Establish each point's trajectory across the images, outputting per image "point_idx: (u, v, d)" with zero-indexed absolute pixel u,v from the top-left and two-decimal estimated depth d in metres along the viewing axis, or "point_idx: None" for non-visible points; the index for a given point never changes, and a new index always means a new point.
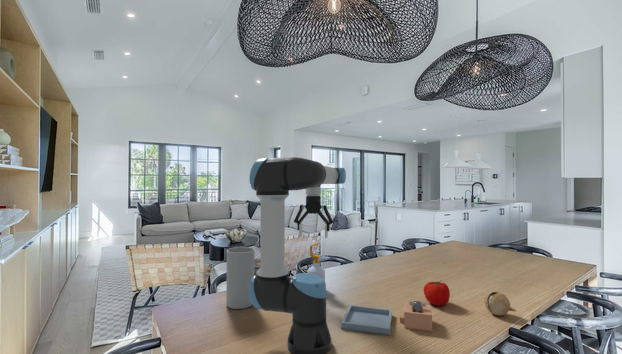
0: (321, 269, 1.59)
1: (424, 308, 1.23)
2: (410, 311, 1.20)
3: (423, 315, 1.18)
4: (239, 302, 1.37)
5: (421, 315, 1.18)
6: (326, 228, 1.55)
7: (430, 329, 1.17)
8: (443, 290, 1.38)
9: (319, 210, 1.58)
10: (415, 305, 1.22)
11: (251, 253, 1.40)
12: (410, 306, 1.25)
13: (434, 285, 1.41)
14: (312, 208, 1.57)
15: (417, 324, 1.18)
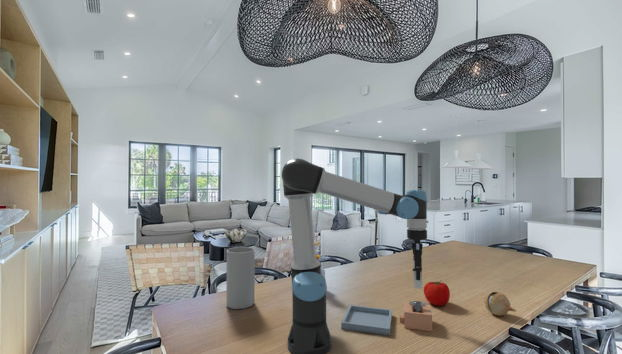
0: (321, 269, 1.59)
1: (424, 308, 1.23)
2: (410, 311, 1.20)
3: (423, 315, 1.18)
4: (239, 302, 1.37)
5: (421, 315, 1.18)
6: (415, 275, 1.17)
7: (430, 329, 1.17)
8: (443, 290, 1.38)
9: None
10: (415, 305, 1.22)
11: (251, 253, 1.40)
12: (410, 306, 1.25)
13: (434, 285, 1.41)
14: None
15: (417, 324, 1.18)
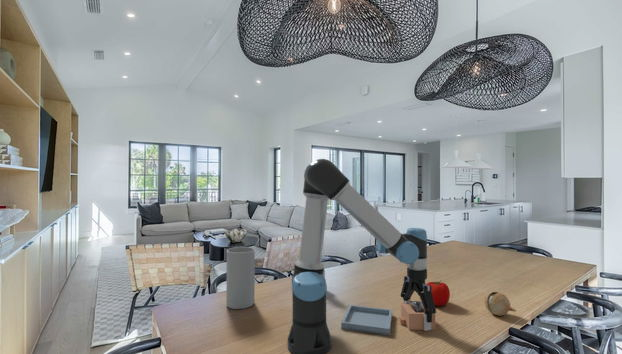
0: None
1: (423, 307, 1.24)
2: (413, 312, 1.19)
3: None
4: (239, 302, 1.37)
5: None
6: (425, 317, 1.17)
7: (433, 328, 1.18)
8: (443, 291, 1.38)
9: (423, 289, 1.21)
10: (415, 305, 1.22)
11: (251, 253, 1.40)
12: (409, 307, 1.24)
13: (434, 285, 1.41)
14: None
15: (421, 324, 1.18)
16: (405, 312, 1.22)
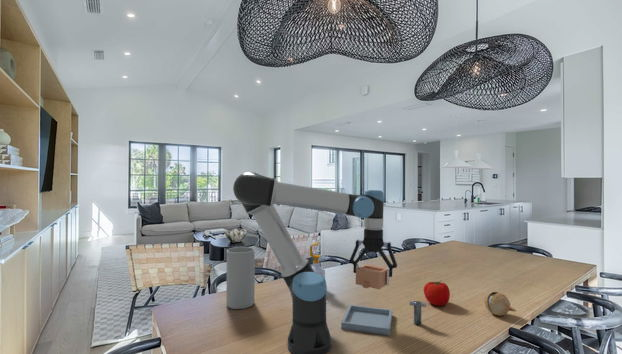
0: (321, 269, 1.59)
1: (373, 266, 1.27)
2: (379, 271, 1.20)
3: (386, 270, 1.24)
4: (239, 302, 1.37)
5: (386, 271, 1.23)
6: (389, 273, 1.22)
7: None
8: (443, 290, 1.38)
9: (380, 248, 1.24)
10: (415, 305, 1.22)
11: (251, 253, 1.40)
12: (367, 269, 1.23)
13: (434, 285, 1.41)
14: (372, 245, 1.24)
15: (384, 281, 1.22)
16: (368, 275, 1.20)
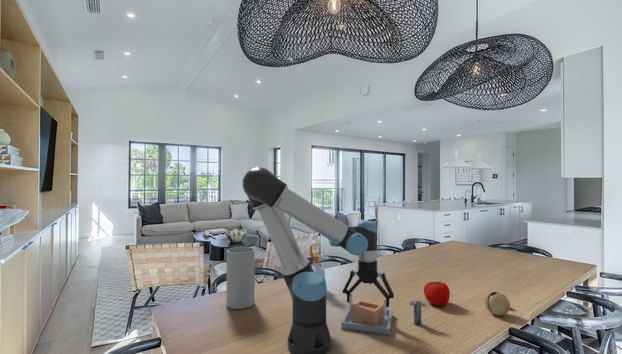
0: (321, 269, 1.59)
1: (368, 302, 1.28)
2: (374, 309, 1.21)
3: (381, 307, 1.24)
4: (239, 302, 1.37)
5: (380, 308, 1.23)
6: (385, 303, 1.22)
7: (383, 317, 1.26)
8: (443, 290, 1.38)
9: None
10: (415, 305, 1.22)
11: (251, 253, 1.40)
12: (362, 306, 1.23)
13: (434, 285, 1.41)
14: (367, 276, 1.24)
15: (379, 318, 1.22)
16: (363, 313, 1.21)
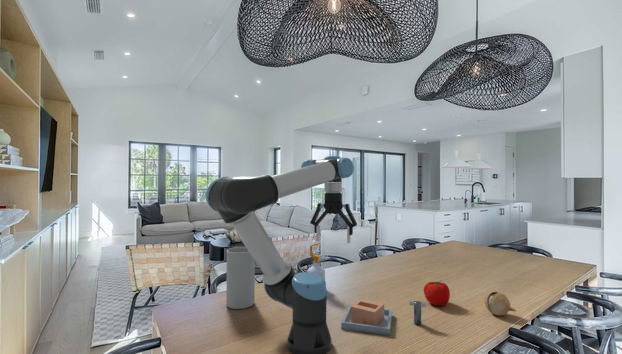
0: (321, 269, 1.59)
1: (368, 302, 1.28)
2: (374, 309, 1.21)
3: (381, 307, 1.24)
4: (239, 302, 1.37)
5: (380, 308, 1.23)
6: (349, 231, 1.30)
7: (383, 317, 1.26)
8: (443, 290, 1.38)
9: (340, 210, 1.33)
10: (415, 305, 1.22)
11: None
12: (362, 306, 1.23)
13: (434, 285, 1.41)
14: (332, 207, 1.33)
15: (379, 318, 1.22)
16: (363, 313, 1.21)
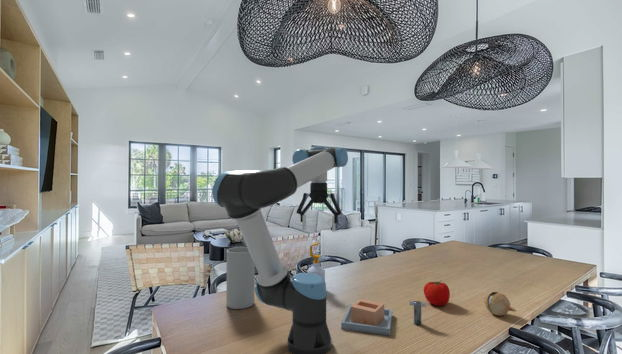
0: (321, 269, 1.59)
1: (368, 302, 1.28)
2: (374, 309, 1.21)
3: (381, 307, 1.24)
4: (239, 302, 1.37)
5: (380, 308, 1.23)
6: (334, 220, 1.34)
7: (383, 317, 1.26)
8: (443, 290, 1.38)
9: (325, 199, 1.37)
10: (415, 305, 1.22)
11: None
12: (362, 306, 1.23)
13: (434, 285, 1.41)
14: (317, 197, 1.37)
15: (379, 318, 1.22)
16: (363, 313, 1.21)
